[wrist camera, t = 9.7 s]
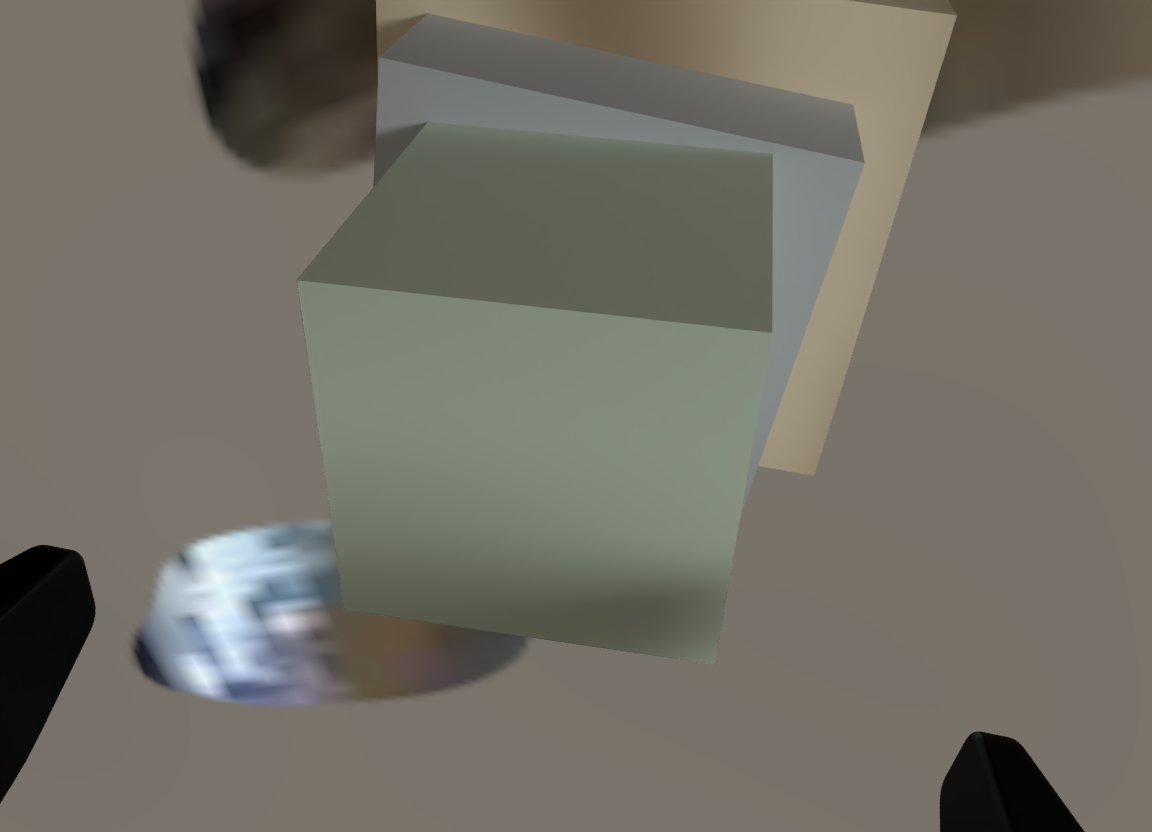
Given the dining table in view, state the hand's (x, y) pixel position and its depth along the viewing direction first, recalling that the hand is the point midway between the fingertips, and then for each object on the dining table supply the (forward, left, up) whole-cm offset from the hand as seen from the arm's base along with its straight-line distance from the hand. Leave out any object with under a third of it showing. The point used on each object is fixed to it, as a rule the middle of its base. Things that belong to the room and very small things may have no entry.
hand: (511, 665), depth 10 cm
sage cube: (0, 0, -7) cm, 7 cm away
